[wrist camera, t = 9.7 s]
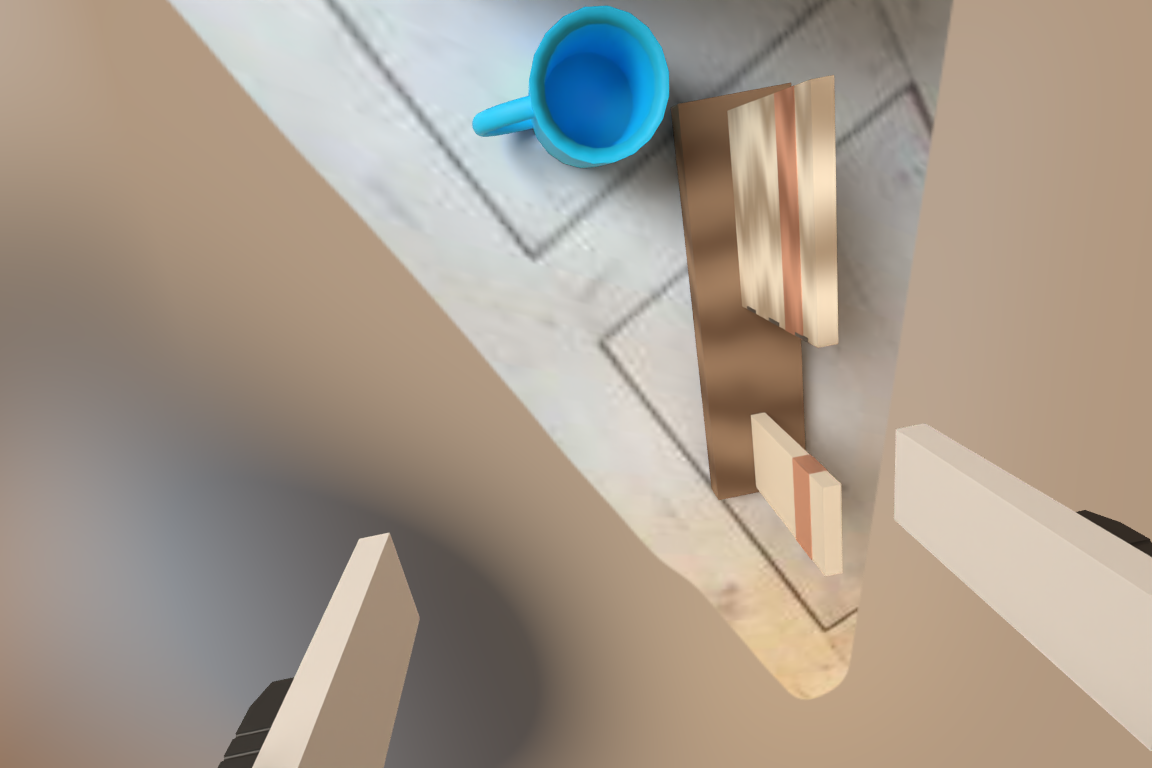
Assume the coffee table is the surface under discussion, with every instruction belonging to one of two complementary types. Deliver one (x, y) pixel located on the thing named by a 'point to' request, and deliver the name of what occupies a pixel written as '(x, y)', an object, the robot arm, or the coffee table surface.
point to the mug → (589, 89)
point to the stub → (799, 493)
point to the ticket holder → (757, 258)
